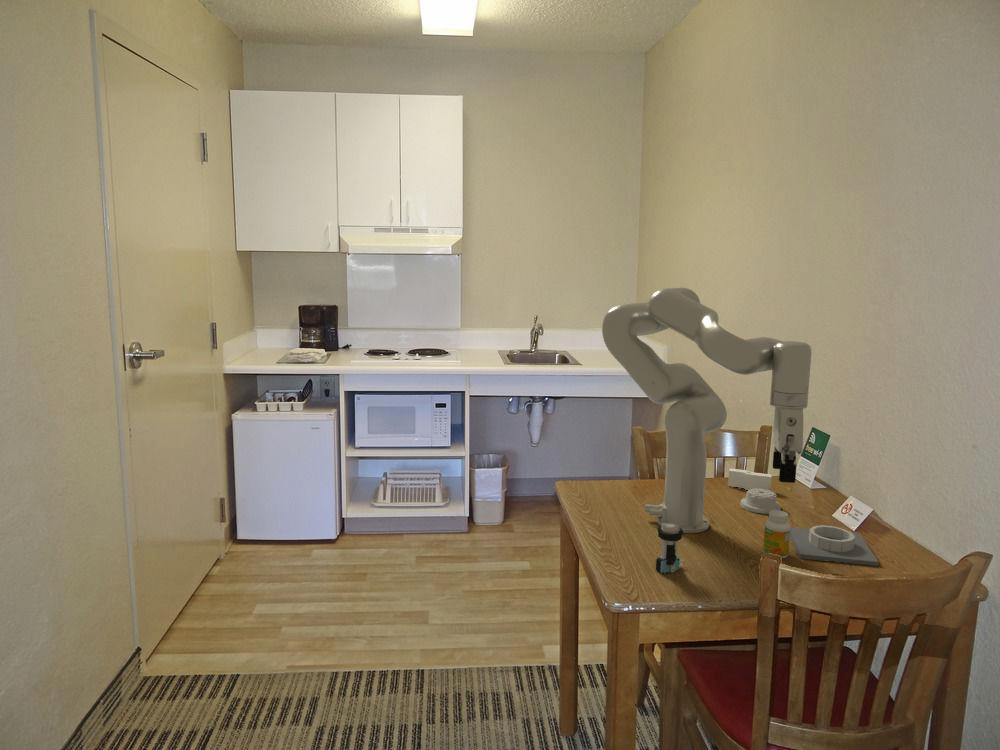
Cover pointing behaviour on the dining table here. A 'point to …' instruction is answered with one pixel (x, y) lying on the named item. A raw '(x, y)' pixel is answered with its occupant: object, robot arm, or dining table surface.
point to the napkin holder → (749, 479)
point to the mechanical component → (760, 501)
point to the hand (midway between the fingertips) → (783, 475)
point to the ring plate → (832, 545)
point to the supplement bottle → (777, 534)
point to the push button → (669, 547)
